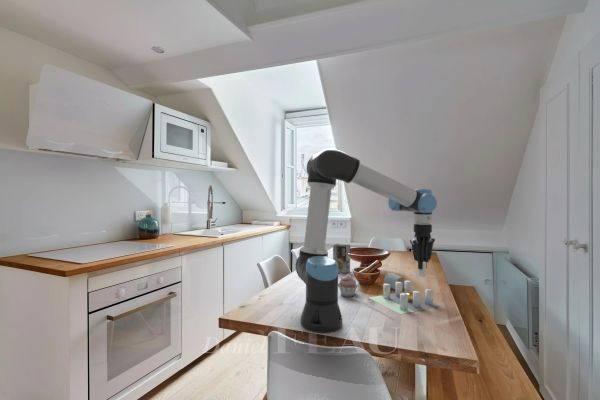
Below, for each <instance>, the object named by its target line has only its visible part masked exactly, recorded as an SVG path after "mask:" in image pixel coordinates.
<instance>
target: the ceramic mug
mask: <svg viewBox="0 0 600 400" xmlns="http://www.w3.org/2000/svg"><path fill="white" fill-rule="evenodd" d="M383 279H384V280H383V284H390V290H395V284H396V282H402V291H404V289H405V281H406V280H405V278H404V277H403V276H401V275H398V274H395V273H393V272H388V273H387V274H386V275H385V277H384V278H383Z"/></svg>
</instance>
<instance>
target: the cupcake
mask: <svg viewBox="0 0 600 400" xmlns="http://www.w3.org/2000/svg"><path fill="white" fill-rule="evenodd" d="M358 286H359V284H357V283H356V279H355V278H353V277H352V276H351V275H350V274H349V273H346V275H345V276H343V277H341V279H340V280H338V289H339V292H340V295H341V296H342V297H344V298H352V297H354V295H356V290H357V288H358Z"/></svg>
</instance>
